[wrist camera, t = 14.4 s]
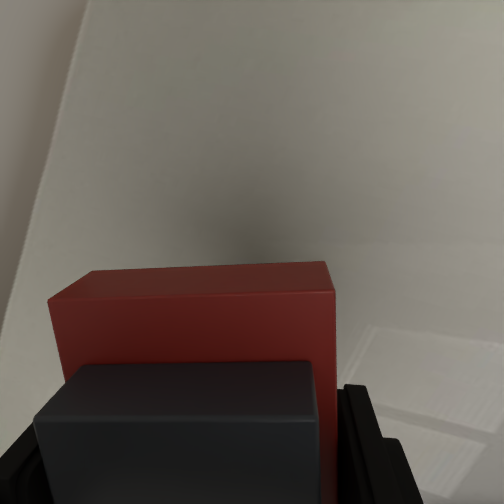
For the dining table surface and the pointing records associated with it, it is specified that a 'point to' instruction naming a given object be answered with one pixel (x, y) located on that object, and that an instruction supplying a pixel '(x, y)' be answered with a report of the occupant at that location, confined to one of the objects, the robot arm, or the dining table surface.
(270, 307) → the toy car
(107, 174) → the dining table surface
